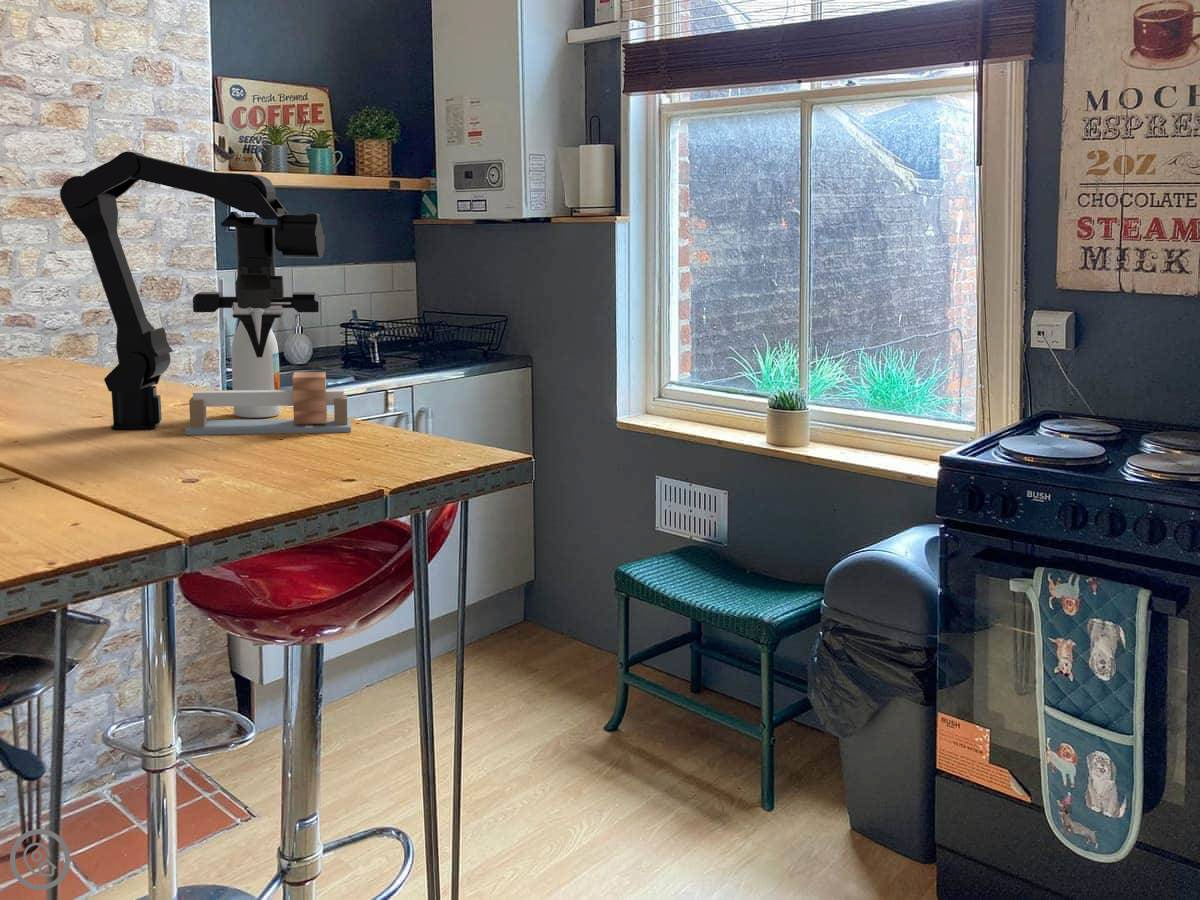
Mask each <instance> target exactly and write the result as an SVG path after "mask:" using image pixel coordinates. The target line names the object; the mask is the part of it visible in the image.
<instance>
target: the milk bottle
mask: <svg viewBox="0 0 1200 900" xmlns="http://www.w3.org/2000/svg"><path fill="white" fill-rule="evenodd" d="M251 312H255V318H256V325H257V331H258V338H259V344H260V333H261V318H262V314H263V313H264V312H265V310H263V309H261V308H253V309H252V310H251ZM272 329H273V328H271V329H270V332H269V335H268V339H267V343H266V346H265V350H264V353H263V357H259V358H257V356H256V353H255V351H254V348H253V345H252V343H251V340H250V337H249V335H248V332H247V330H246V329H245V327H244V325H243V323H242V322H241V320H240V319H239V322H238V325H237V329H236V331H235V333H234V335H233V338H232V343H231V378H232V379H231V381H232V382H231V383H232V390H281V381H280V380H281V379H280V377H281V376H280V357H279V347H278V342H277V338H276V336H275V333H274V332H273V330H272ZM232 407H233V413H234V416H236V417H240V418H247V419H248V418H249V419H252V418H253V419H255V418H256V419H257V418H258V419H260V418H261V419H262V418H263V419H264V418H271V417H275V416H276V417H277V416H279V415H280V413H281V410H282V409H281V407H282V406H232Z"/></svg>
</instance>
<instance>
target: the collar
mask: <svg viewBox="0 0 1200 900" xmlns="http://www.w3.org/2000/svg"><path fill="white" fill-rule="evenodd" d="M326 372H327V371H295V372H293V374H292V378H291V379H292V390H293V406H292V407H293V409H292V410H293V419H294V424H314V423H326V421H327V419H328V418H327V417H328V413H327V412H328V410H327V409H328V408H327V407H328V405H326V390H327V383H326V382H327V374H326Z"/></svg>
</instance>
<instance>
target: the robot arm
mask: <svg viewBox="0 0 1200 900" xmlns="http://www.w3.org/2000/svg"><path fill="white" fill-rule="evenodd" d="M139 181H144V182H148V183H153V184H157V185H162V186H166V187H170V188H174V189H178V190H183V191H187V192H192V193H196V194H199V195H203V196H206V197H209V198H211V199H213V200H216V201H218V202H220V203H222V204H224V205H226V206H229V207H230V208H233V209H235V210H238V211H241V212H243V213H254V214H255V215H257V216H242V215H240V214H239V213H238V212H237V211H230V213H229V215H228V216H227V217H226V218H225V219H224V220H222V221H221V222H220V226H221V227H222V228H234V231H235V235H234V236H235V253H236V255H235V256H236V258H235V259H236V274H237V275H236V280H235V296H223V292H222V291H200V292H197V293H196V294H195V295H194V296H193V297H192V312H193V313H215V312H216V311H217V310H219V309H231V310H232V311H233V314H232V318H234V319H239V321H240V320H241V322H242V323H243V325H244V327H245V329H246V330H247V332H248V335H249V337H250V340H251V343H252V345H253V348H254V351H255V353H256V356H257V358H259V357H263V353H264V350H265V346H266V343H267V339H268V335H269V332H270V329H272V327H273V325H274V322H275V320H276V319H281V318H282V317H283V316H284V313H283V309H294V310H295V311H296V312H297V313H319V312H320V296H319V294H318V293H317V292H314V291H313V292H311V291H310V292H305V291H303V292H302V291H299V292H298V291H297V292H292V296H284V295H285V294H284V288H285V287H284V277H283V275H276V261H275V260H276V258H275V249H276V251H277V252H281V254H282V256H283V257H284V258H286V259H289V258H290V259H291V258H293V259H295V258H296V259H323V256H324V253H325V246H326V245H325V240H326V239H325V238H326V236H325V234H324V232H323V226H322V223H321V216H320V214H319V213H308V214H290V213H289V212H288V211H287V210H286V208H285V207H284V206H283V205H282V203H281V202H280V201H279V199H278V198H277V197H276V196H277V193H276V192H277V191H276V188H275V186H274V185H273V183H272V182H271V180H270V179H269V178H267V177H265V176H263V175H258V174H250V173H236V172H235V173H233V172H215V171H211V170H206V169H201V168H199V167H198V168H197V167H194V166H189V165H184V164H181V163H178V162H177V163H176V162H174V161H173V162H171V161H169V160H163V159H161V158H160V159H159V158H156V157H151V156H147V155H145V154H143V153H141V152H135V151H127V150H126V151H122V152H121V153H119V154H118V155H117V156H115V157H113V158H112V159H111V160H109V161H107V162H105V163H103V164H101V165H99V166H97V167H96V168H93V169H91V170H88V172H85V173H84V174H83V175H75V176H71V177H69V178H67V179H66V180H65V181H64V182H63V184H62V187H61V188H60V189H59V198H60V201H61V203H62V205H63V206H64V209H65V210H66V213H67V215H68V216H69V218H70V220H71V221H72V223H73V224H74V225H75V226H76V227H77V229H78V230H79V232H81V234H82V235H83V236H84V237H85V239H86V242H87V244H88V247H89V250H90V253H91V256H92V260H93V262H94V264H95V267H96V271H97V273H98V276H99V278H100V279H99V280H100V282H101V285H102V288H103V291H104V293H105V296H106V299H107V302H108V305H109V308H110V312H111V314H112V316H113V319H114V322H115V324H116V341H115V343H116V344H115V348H116V349H115V350H116V355H117V362H118V364H117V365H116V366H115V367H114V368H113V369H112V370H111V371H110V372H109V373H108V374H107V375H106V376H105V377H104V379H103V381H104V383H105V385H106V388H107V389H108V391H109V392H111V403H112V404H111V405H112V406H111V407H112V419H113V420H112V422H113V423H112V424H111V425H110V428H111V429H112V430H130V429H131V430H134V429H135V430H137V429H138V430H139V429H140V430H142V429H143V430H144V429H146V430H147V429H155V428H156V427H157V426H159V424H160V423H161V422H162V419H163V417H162V416H163V414H162V401H161V395H160V394H159V395H158V394H157V393H158V392H157V385H158V384H159V381H160V379H161V375H162V374H164V373H165V372H166V371H167V370H168V368H169V366H170V364H171V354H170V353H172V352H173V351H174V349H172V347H171V346H170V345H169V343H168V339H167V333H166V330H165V328H164V327H159V328H155V327H154V326H153V325H152V323H150V321H149V320H148V318H147V316H146V313H145V309H144V307H143V305H142V301H141V299H140V298H141V297H140V295H139V293H138V290H137V286H136V284H135V280H134V277H133V274H132V271H131V268H130V266H129V263H128V260H127V257H126V255H125V250H124V248H123V246H122V242H121V239H120V237H119V233H118V222H119V210H118V204H117V203H118V202H117V199H118V198H120V197H122V195H124V194H126V193H127V192H128V191H129V190H130V189H131V188H132V187H133V186H134V185H135V184H136V183H137V182H139ZM261 219H262V220H273V221H275V220H276V223H268V224H267V223H262V222H263V221H262V220H261ZM253 308H261V309H263V310H265V312H264V313H263V314H262V318H261V333H260V344H259V338H258V331H257V325H256V318H255V312H251V310H252V309H253ZM111 429H110V430H111Z"/></svg>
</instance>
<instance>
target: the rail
mask: <svg viewBox="0 0 1200 900" xmlns="http://www.w3.org/2000/svg"><path fill="white" fill-rule="evenodd" d="M188 402H189V404H188V405H189V407H188V408H189V424H188V425H187V427H186V428H185V431H184V432H185V435H186V436H187V435H188V436H191V435H192V436H195V435H201V436H202V435H203V436H204V435H205V436H206V435H246V434H247V435H250V434H251V435H253V434H254V435H256V434H262V435H263V434H309V433H311V434H312V433H313V434H314V433H315V434H319V433H323V434H324V433H351V430H352V429H351V427H352V426H351V425H352V424H351V418H350V417H348V395H346V394H345V395H344V389H326V405H327V406H333V407H334V410H333V411H334V412H333V413H334V415H333V416H334V417H332V418H327V421H326V423H314V424H294V418H287V419H286V418H285V419H284V418H279V419H278V418H275V419H273V418H271V419H270V418H269V419H264V418H263V419H208V418H207V407H209V408H211V407H212V408H214V407H233V406H281V407H285V406H286V407H289V406H292V407H293V389H280V390H233V389H232V390H231V389H229V390H194V391H192V397H191V398H190V399H189V400H188ZM207 419H208V420H207Z"/></svg>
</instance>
